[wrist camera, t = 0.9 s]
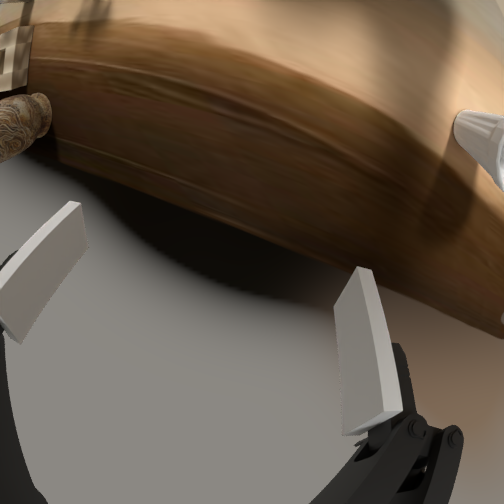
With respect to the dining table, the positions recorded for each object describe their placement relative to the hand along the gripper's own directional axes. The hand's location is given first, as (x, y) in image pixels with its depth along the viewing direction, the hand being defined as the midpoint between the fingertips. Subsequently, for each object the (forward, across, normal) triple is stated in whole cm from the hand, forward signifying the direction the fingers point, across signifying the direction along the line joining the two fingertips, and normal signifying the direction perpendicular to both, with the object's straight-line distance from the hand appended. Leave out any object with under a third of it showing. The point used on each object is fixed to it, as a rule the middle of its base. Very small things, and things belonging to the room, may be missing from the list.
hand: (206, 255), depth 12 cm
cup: (+27, +29, +11) cm, 41 cm away
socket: (+26, -49, +12) cm, 57 cm away
